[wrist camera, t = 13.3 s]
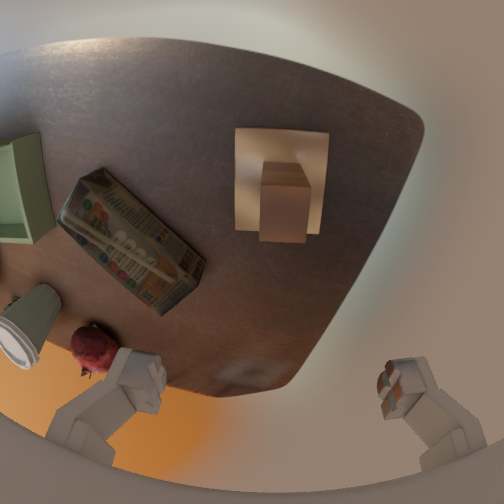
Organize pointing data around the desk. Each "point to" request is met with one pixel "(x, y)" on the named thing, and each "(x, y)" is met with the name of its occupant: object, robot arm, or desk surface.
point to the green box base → (24, 192)
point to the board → (277, 150)
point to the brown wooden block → (284, 203)
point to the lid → (4, 142)
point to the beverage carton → (130, 242)
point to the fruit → (93, 349)
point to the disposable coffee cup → (28, 325)
